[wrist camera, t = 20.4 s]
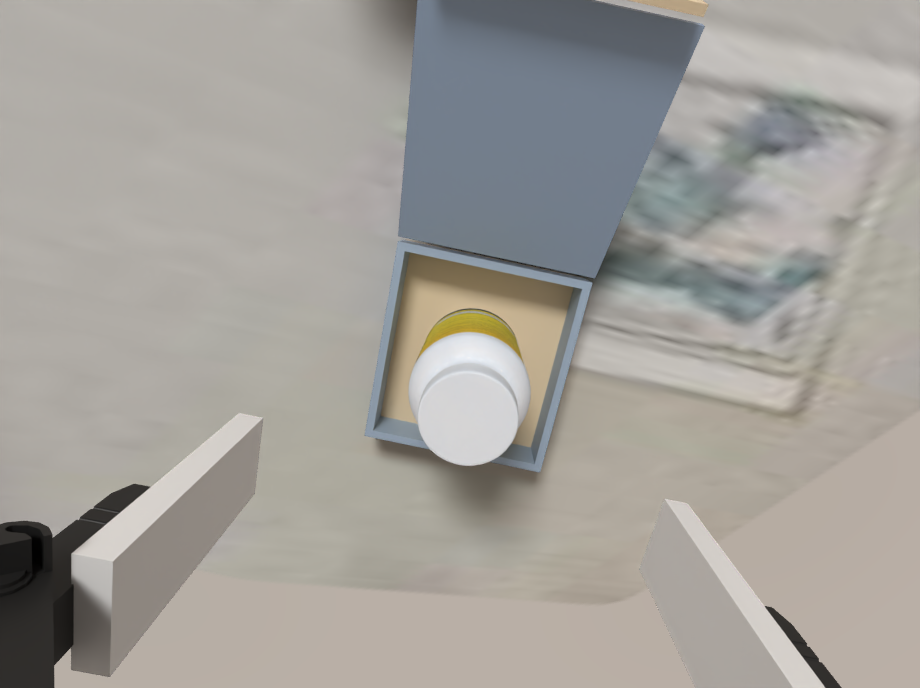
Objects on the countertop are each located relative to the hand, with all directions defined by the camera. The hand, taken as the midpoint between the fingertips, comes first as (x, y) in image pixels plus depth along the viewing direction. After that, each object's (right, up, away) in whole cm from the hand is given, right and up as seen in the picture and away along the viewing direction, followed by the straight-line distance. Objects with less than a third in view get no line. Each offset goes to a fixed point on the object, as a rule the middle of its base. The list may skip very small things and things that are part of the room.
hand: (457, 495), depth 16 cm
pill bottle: (+1, +4, +18) cm, 18 cm away
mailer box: (+1, +4, +18) cm, 19 cm away
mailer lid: (+3, +14, +8) cm, 17 cm away
